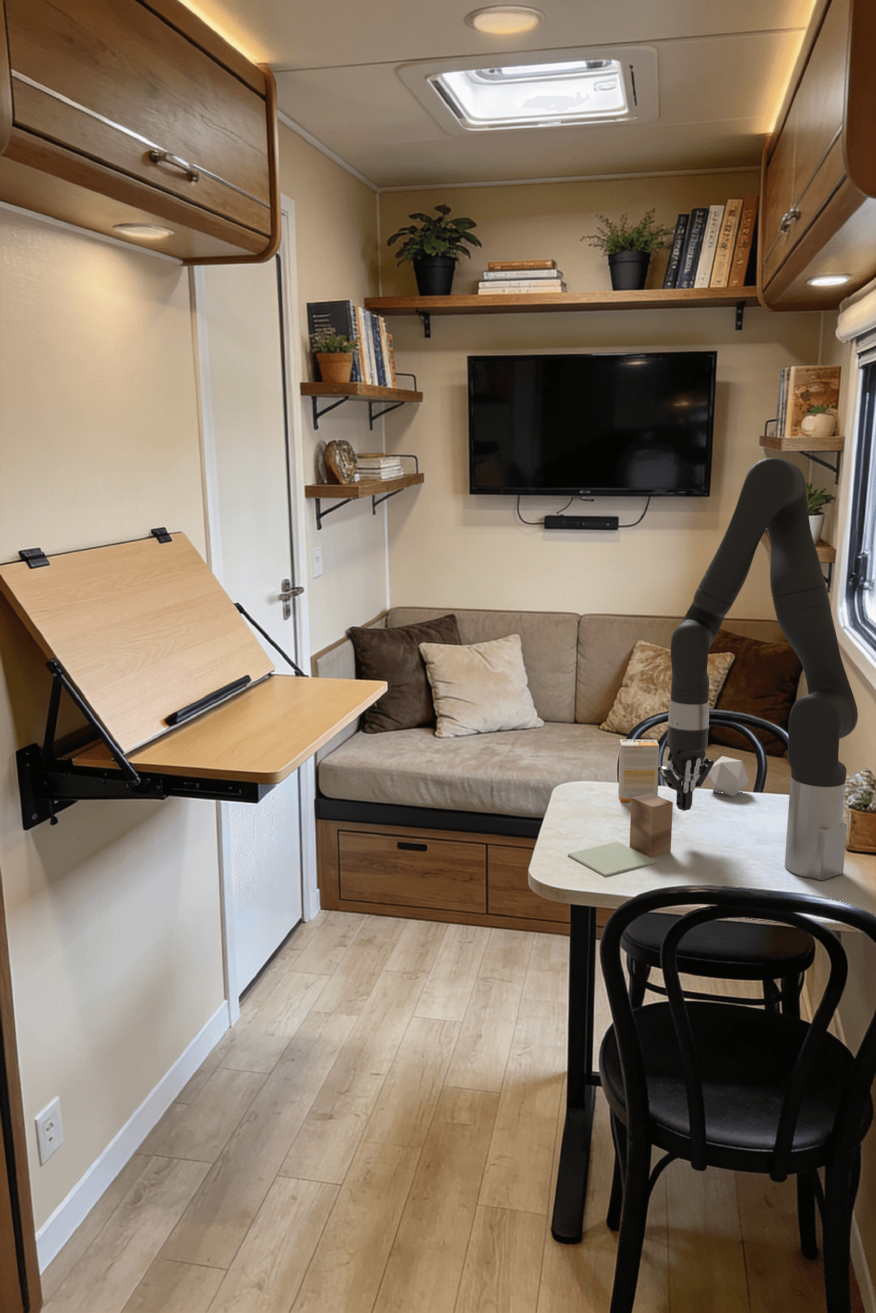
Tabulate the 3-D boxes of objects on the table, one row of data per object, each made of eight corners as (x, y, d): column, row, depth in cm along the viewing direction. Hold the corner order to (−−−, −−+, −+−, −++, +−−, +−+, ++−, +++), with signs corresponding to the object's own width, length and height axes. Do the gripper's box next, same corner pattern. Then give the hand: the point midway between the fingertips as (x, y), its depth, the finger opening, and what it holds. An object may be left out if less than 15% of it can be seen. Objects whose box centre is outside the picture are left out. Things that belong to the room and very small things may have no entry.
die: (755, 796, 222) (743, 755, 226) (747, 788, 215) (736, 746, 219) (718, 805, 225) (708, 765, 229) (710, 797, 218) (700, 755, 222)
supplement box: (655, 795, 221) (657, 739, 218) (657, 803, 216) (660, 745, 214) (617, 794, 222) (619, 738, 219) (619, 802, 217) (621, 744, 214)
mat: (655, 862, 185) (655, 860, 185) (605, 876, 179) (605, 874, 179) (617, 843, 194) (617, 841, 194) (567, 855, 188) (567, 853, 188)
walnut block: (670, 852, 190) (672, 802, 188) (650, 857, 187) (652, 807, 185) (649, 841, 195) (651, 793, 193) (629, 846, 192) (631, 797, 190)
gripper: (676, 732, 184) (671, 821, 188) (727, 723, 191) (722, 808, 194) (648, 723, 191) (645, 809, 194) (699, 714, 197) (695, 797, 201)
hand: (684, 808), depth 194 cm, fingers closed
